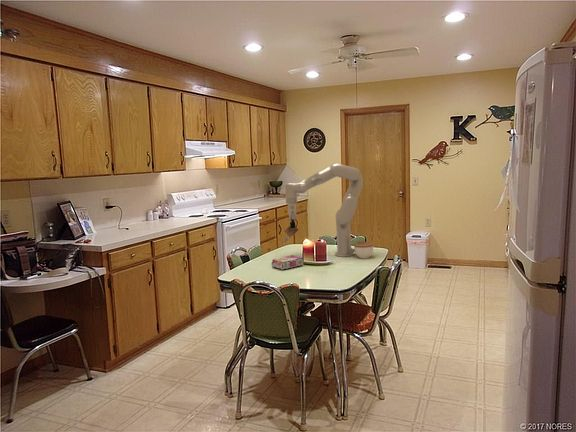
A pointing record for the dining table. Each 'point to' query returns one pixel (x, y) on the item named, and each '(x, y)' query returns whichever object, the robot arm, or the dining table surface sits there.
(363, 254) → the lidded bowl
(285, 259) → the candy bar box
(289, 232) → the turner
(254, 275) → the dining table surface
